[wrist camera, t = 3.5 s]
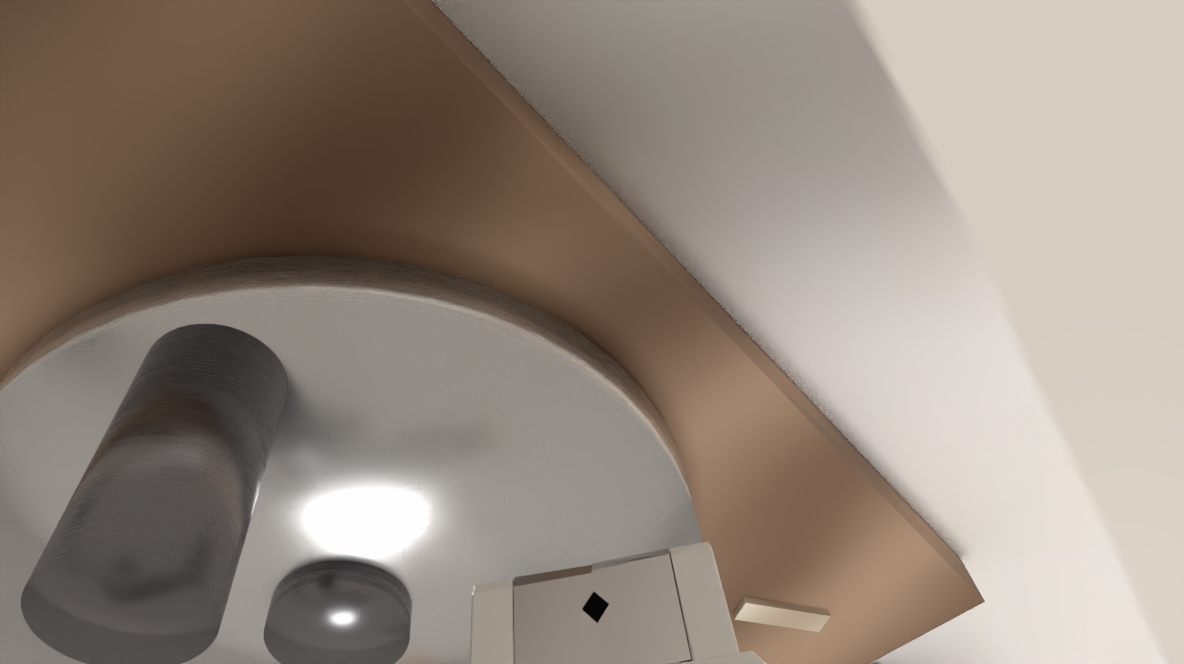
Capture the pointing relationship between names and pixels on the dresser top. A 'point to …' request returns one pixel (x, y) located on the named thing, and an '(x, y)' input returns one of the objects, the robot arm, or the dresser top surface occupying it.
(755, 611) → the base board
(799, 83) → the dresser top surface
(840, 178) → the dresser top surface
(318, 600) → the dial
